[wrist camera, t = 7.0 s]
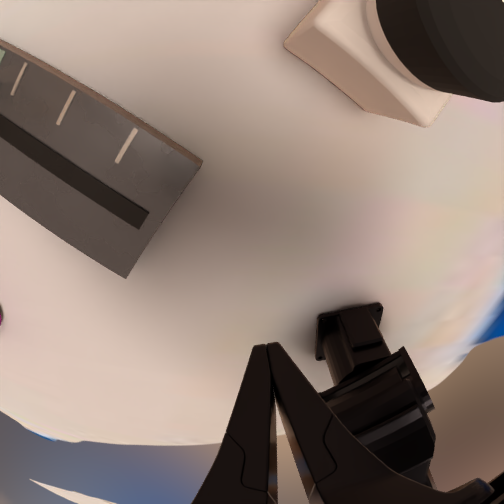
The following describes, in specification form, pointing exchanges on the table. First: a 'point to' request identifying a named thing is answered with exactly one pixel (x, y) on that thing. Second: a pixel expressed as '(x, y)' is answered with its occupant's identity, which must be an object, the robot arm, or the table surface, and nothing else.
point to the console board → (84, 162)
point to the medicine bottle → (406, 52)
